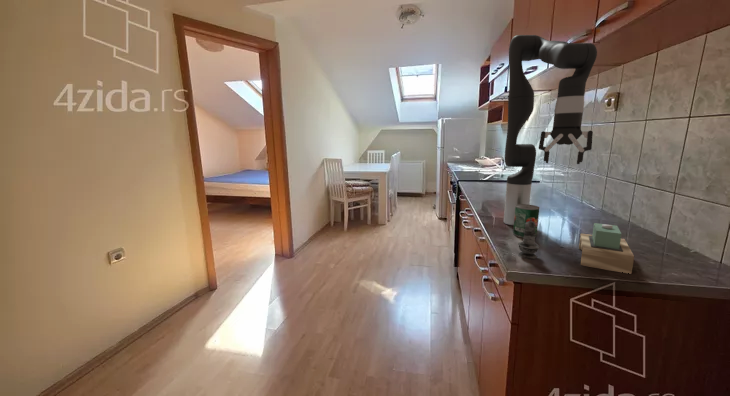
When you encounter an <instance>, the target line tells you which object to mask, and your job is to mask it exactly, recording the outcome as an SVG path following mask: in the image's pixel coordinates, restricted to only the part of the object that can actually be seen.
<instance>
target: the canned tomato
mask: <svg viewBox="0 0 730 396" xmlns="http://www.w3.org/2000/svg"><path fill="white" fill-rule="evenodd" d="M539 214H540V206H538V205H533V204H530V205H527V204H518V205H516V206H515V218H514V225H513V230H512V234H513V235H514V236H515V237H519V238H523V239H524V233H523V232H524V231H525V223H526V222H528V221H530V219H532V221H533V222H534V223H535V224H536V228H535V233H536V235H535V238H537V235H538V226H539V225H538V224H539V217H540V216H539Z"/></svg>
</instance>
